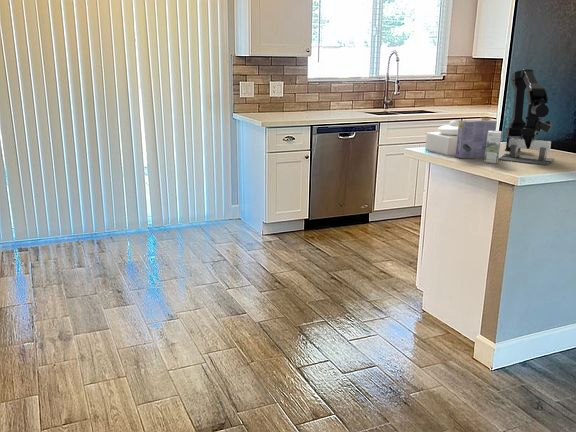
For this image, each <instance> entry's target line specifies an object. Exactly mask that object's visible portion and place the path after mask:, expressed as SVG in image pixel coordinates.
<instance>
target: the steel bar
mask: <svg viewBox="0 0 576 432" xmlns="http://www.w3.org/2000/svg"><path fill="white" fill-rule="evenodd" d="M551 144H552V141H550V140H540V139H539V140H538V139H534V140H532V142H531V145H530V148H529V149H527V148H526V144H525V141H524V139H518V138H510V139H509V145H508V147H511V145H516V148H521V150H522V149H523V150H534V151H540V147H542V148H546V151H547V152H549V151H551V147H552V146H551Z"/></svg>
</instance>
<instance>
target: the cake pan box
mask: <svg viewBox="0 0 576 432" xmlns="http://www.w3.org/2000/svg"><path fill="white" fill-rule="evenodd" d="M497 122H498V121H497V120H458V125H459V126H458V136H457V146H456V155H454V156H455V157H456V158H459V159H477V158H478V159H480V158H481V159H482V158H484V159H485V153H486V144H487V135H488V131H489V130H491V131H497V130H496V128H497Z"/></svg>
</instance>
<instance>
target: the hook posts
mask: <svg viewBox="0 0 576 432" xmlns="http://www.w3.org/2000/svg"><path fill="white" fill-rule="evenodd" d="M538 152H539V153H538V156H532V155H522V154H518V153H519V151H518V148H516V145H511V148H510V151H509V153H504V154H502V155H501V157H509V158H519V159H528V160H538V161H547V162H551V163H552V162H553V161H554V160H555V158H552V157H547V155H548V151H546V148H542V147H540V150H538Z"/></svg>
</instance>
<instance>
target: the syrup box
mask: <svg viewBox="0 0 576 432" xmlns="http://www.w3.org/2000/svg"><path fill="white" fill-rule="evenodd" d="M502 135H503V131H501V130H495V131H491V130H489V131H488V135H487V144H486V153H485V158H484V161H483V162H484V164H494V165H497V164H498V163H499V160H498V159H499V158H500V149H501V143H502V141H501V140H502Z"/></svg>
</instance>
